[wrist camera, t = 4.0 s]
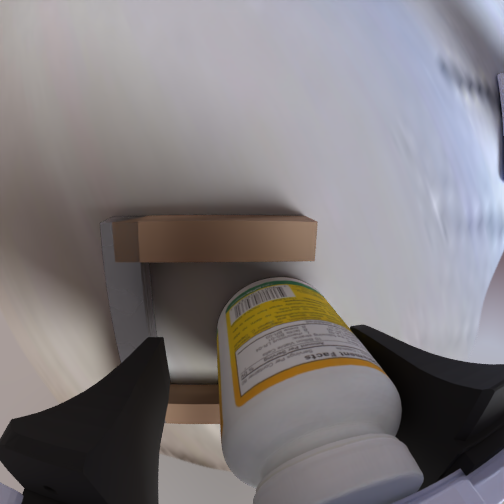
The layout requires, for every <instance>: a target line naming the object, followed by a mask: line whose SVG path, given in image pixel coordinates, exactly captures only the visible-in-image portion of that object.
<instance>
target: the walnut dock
mask: <svg viewBox="0 0 504 504" xmlns="http://www.w3.org/2000/svg"><path fill="white" fill-rule="evenodd" d="M100 230H101V243H102V253H103V263H104V271H105V279H106V286H107V293H108V300H109V306H110V312H111V317H112V323H113V328H114V333H115V338H116V342H117V347H118V351H119V356H120V360H121V363H122V362H123V361H124V360H125V359H126V358H127V357H128V356H129V355H130V354H131V353H132V352H133V351H134V350H135V349H136V348H137V347H138V346H139V345H140V344H141V343H142V342H143V341H144V340H145V339H146V338H148V337H157V333H156V325H155V317H154V309H153V299H152V290H151V279H150V266H149V262H278V261H314V260H315V248H316V236H317V221H315V220H312V219H310V218H308V217H306V216H282V215H156V216H119V217H111V218H109V219H107V220H105V221H103V222H101V223H100ZM164 423H175V424H220V407H219V385H218V384H214V385H182V384H170V390H169V401H168V407H167V412H166V417H165V422H164Z"/></svg>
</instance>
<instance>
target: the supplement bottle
mask: <svg viewBox="0 0 504 504" xmlns="http://www.w3.org/2000/svg"><path fill="white" fill-rule="evenodd" d="M216 338H217V364H218V385H219V407H220V425H221V443H222V451H223V455H224V458H225V461H226V463H227V465H228V467H229V468H230V470H231V471H232V472H233V473H234V474H235V476H236V477H237V478H239V479H240V480H241V481H243V482H244V483H245V484H247V485H249V486H251V487H253V488H256V494H255V496H254V499H253V504H391V503H394V502H396V501H399V500H401V499H403V498H405V497H408V496H410V495H412V494H414V493H416V492H417V491H418V490H419V488H420V487H421V485H422V483H423V480H424V477H423V473H422V471H421V470H420V468H419V466H418V465H417V463H416V461H415V460H414V458H413V456H412V455H411V453H410V452H409V450H408V448H407V446H406V445H405V444H404V443H402V442H401V441H399V440H398V439H397V438H396V437H395V436H396V434H397V431H398V429H399V426H400V421H401V414H402V406H401V400H400V396H399V393H398V391H397V389H396V387H395V385H394V384H393V382H392V381H391V380H390V378H389V377H388V376H387V375H386V373H385V372H384V371H383V369H382V368H381V366H380V365H379V364H378V363H377V362H376V361H375V359H374V358H373V357H372V355H371V354H370V353H369V352H368V350H367V349H366V348H365V347H364V346H363V344H362V343H361V342H360V341H359V340H358V338H357V337H356V336H355V335H354V334H353V332H352V331H351V330H350V329H349V327H348V326H347V325H346V324H345V322H344V321H343V320H342V319H341V318H340V316H339V315H338V314H337V313H336V311H335V310H334V309H333V308H332V307H331V305H330V304H329V303H328V302H327V300H326V299H325V298H324V297H323V296H322V295H321V294H320V293H319V291H317V290H316V289H315V288H314V287H312V286H311V285H309V284H307V283H305V282H303V281H300V280H297V279H293V278H287V277H274V278H267V279H263V280H259V281H257V282H254V283H251V284H250V285H248V286H246V287H244V288H243V289H241V290H240V291H238V292H237V293H236V294H235V295H234V296H233V297H232V298H231V299H230V300H229V301H228V303H227V304H226V306H225V307H224V309H223V311H222V312H221V315H220V317H219V320H218V325H217V337H216Z"/></svg>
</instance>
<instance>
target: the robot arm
mask: <svg viewBox="0 0 504 504" xmlns="http://www.w3.org/2000/svg"><path fill="white" fill-rule="evenodd" d="M497 77H498V84H499V91H500V99H501V107H502V118H503V134H504V74H503V73H499V74H498V76H497ZM350 330H351V331H352V332H353V334H354V335H355V336H356V337H357V338H358V340H359V341H360V342H361V343H362V344H363V346H364V347H365V348H366V349H367V350H368V352H369V353H370V354H371V355H372V357H373V358H374V359H375V361H376V362H377V363H378V364H379V365H380V366H381V368H382V369H383V371H384V372H385V373H386V375H387V376H388V377H389V378H390V380H391V381H392V382H393V384H394V385H395V387H396V389H397V391H398V393H399V396H400V400H401V406H402V414H401V421H400V426H399V429H398V431H397V434H396V436H395V437H396V438H397V439H398V440H399V441H401V442H402V443H404V444H405V445H406V446H407V448H408V450H409V452H410V453H411V455H412V456H413V458H414V460H415V461H416V463H417V465H418V466H419V468H420V470H421V471H422V473H423V477H424V480H423V483H422V485H421V487H420V488H419V490H418V491H417V492H416V493H414V494H412V495H410V496H408V497H405V498H403V499H401V500H399V501H396V502H394V503H391V504H502V502H504V364H496V365H489V364H477V363H469V362H463V361H458V360H453V359H449V358H445V357H442V356H438V355H435V354H432V353H429V352H426V351H423V350H421V349H418V348H416V347H413V346H411V345H408V344H406V343H404V342H402V341H400V340H397V339H395V338H393V337H391V336H389V335H387V334H385V333H382V332H380V331H378V330H376V329H374V328H371V327H369V326H366V325H357V326H351V327H350ZM169 390H170V375H169V369H168V363H167V357H166V351H165V345H164V338H163V337H148V338H146V339H145V340H144V341H143V342H142V343H141V344H140V345H139V346H138V347H137V348H136V349H135V350H134V351H133V352H132V353H131V354H130V355H129V356H128V357H127V358H126V359H125V360H124V361H123V362H122V363H121V364H120V365H119V366H117V367H116V368H115V369H114V370H113V371H112V372H110V373H109V374H108V375H107V376H106V377H104V378H103V379H102V380H100V381H99V382H98V383H96V384H95V385H93V386H92V387H90V388H89V389H87V390H86V391H84V392H82V393H80V394H79V395H77V396H75V397H73V398H71V399H69V400H67V401H66V402H64V403H61V404H59V405H57V406H55V407H52V408H49V409H47V410H44V411H41V412H38V413H35V414H31V415H28V416H24V417H20V418H16V419H12V420H11V421H10V423H9V424H8V426H7V428H6V430H5V431H4V433H3V435H2V437H1V438H0V461H1V462H2V463H3V465H4V466H5V467H6V468H7V470H8V471H9V472H10V473H11V474H12V475H13V476H14V477H15V479H16V480H17V481H19V483H20V484H21V485H22V486H23V487H24V488H25V489H24V491H23V494H21V493H20V492H18V491H16V490H14V489H12V488H10V487H8V486H6V485H4V484H2V483H0V504H158V465H159V450H160V443H161V438H162V432H163V427H164V422H165V417H166V412H167V407H168V401H169Z"/></svg>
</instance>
